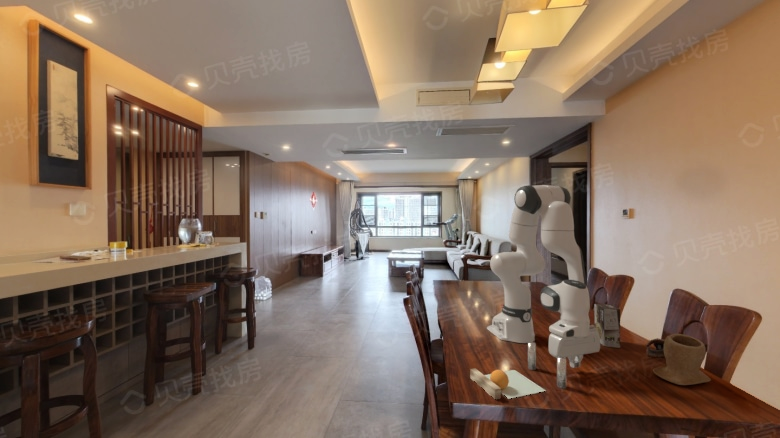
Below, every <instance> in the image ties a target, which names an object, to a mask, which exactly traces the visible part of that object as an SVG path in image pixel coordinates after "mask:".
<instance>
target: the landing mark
mask: <svg viewBox="0 0 780 438" xmlns="http://www.w3.org/2000/svg"><path fill="white" fill-rule="evenodd" d="M504 372H505V373H506V375H507V376H508V379H509V383H508V386H507V387H506V388H505V389H502V390H501V395H502V396H504V395H505V396H506V397H507V399H508V400H511V398H512V399H517V398H520V397H521V398H522V397H525V396H526V395H527V396H530V394H531V395H535V394H540V393H539V392H541V393H545V392H547V390H546V389H545V388H543V387H541V386H539V385H538V384H537V383H535V382H533V381H532V380H530V379H529V378H528V377H526V376H525V375H523V374H521V372H518V371H517V370H515V369H511V370H505V371H504ZM483 375H484V376H486V377H487V378H488V379H490V376H491V373H489V374H483ZM544 391H545V392H544ZM505 396H504V397H505ZM506 397H505V398H506ZM516 397H517V398H516Z"/></svg>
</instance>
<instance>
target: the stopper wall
mask: <svg viewBox="0 0 780 438" xmlns="http://www.w3.org/2000/svg"><path fill="white" fill-rule="evenodd" d="M469 370H470V371H469V374H470V375H469V378H470V379H471V381H473V382H474V381H475V382H476V383H477V386H479V387H480V388H481V387H482V388H483V389H484V390H485V392H486V393H487V394H488V395H489V396H490V397H491V396H492V397H493V400H495V399H496V400H500V399H501V398H502V397H501V396H502V393H501V388H500V387H498V386H497V385H496V384H495V383H493V382H492V381H491V380H490V379H488V378H487V377H486V376H484V375H485V374H483V373H482V372H481V371H480V370H478V369H477V368H470V369H469ZM476 383H475V384H476ZM482 388H481V389H482ZM483 389H482V390H483ZM484 390H483V391H484ZM492 397H491V398H492Z"/></svg>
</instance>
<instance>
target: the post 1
mask: <svg viewBox="0 0 780 438" xmlns="http://www.w3.org/2000/svg"><path fill="white" fill-rule="evenodd" d="M536 358H537V343H536V342H535V341H533V342H528V343H527V368H528V370H531V371H535V370H536V369H537V359H536Z"/></svg>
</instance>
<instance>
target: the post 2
mask: <svg viewBox="0 0 780 438" xmlns="http://www.w3.org/2000/svg"><path fill="white" fill-rule="evenodd" d="M556 387H558V388H559V389H562V390H565V389H567V357H565V358H564V357H561V356H558V357H557V358H556Z"/></svg>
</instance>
